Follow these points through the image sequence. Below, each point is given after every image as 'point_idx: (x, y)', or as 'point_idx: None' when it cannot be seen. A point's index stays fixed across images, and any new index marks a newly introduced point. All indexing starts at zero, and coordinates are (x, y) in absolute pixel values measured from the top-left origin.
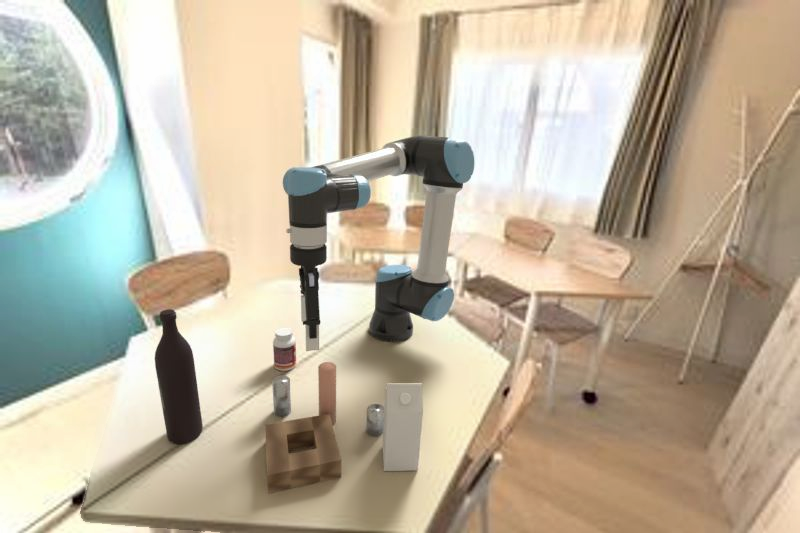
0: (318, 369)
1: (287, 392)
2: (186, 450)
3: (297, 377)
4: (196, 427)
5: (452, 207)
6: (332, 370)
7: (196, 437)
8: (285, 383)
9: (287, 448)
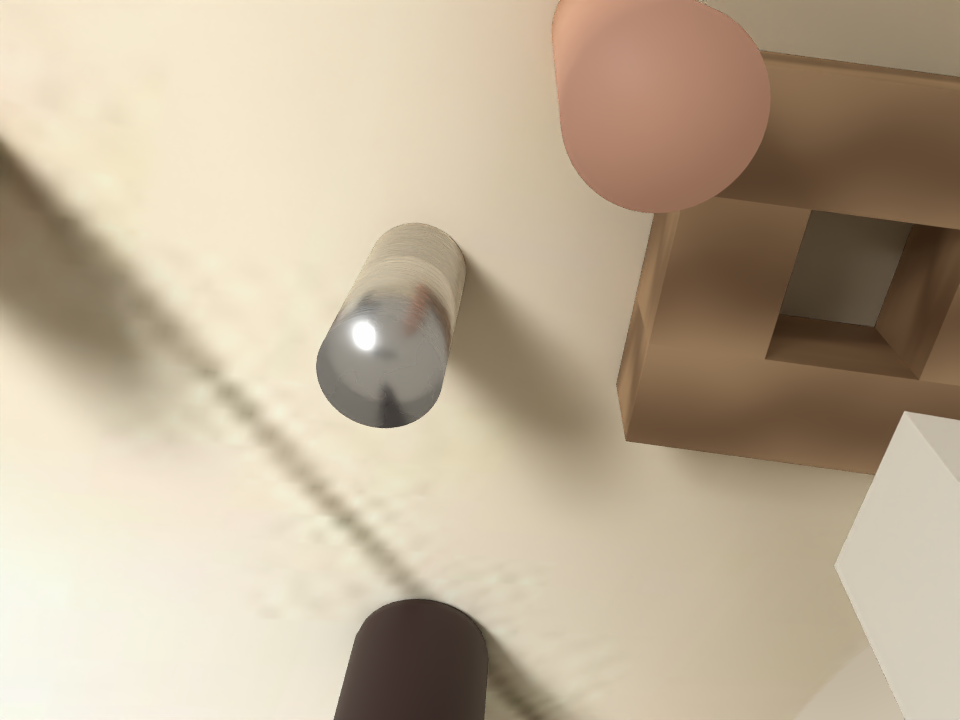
0: (645, 208)
1: (439, 310)
2: (526, 646)
3: (83, 107)
4: (465, 656)
5: None
6: (762, 77)
7: (470, 620)
8: (427, 353)
9: (875, 377)
